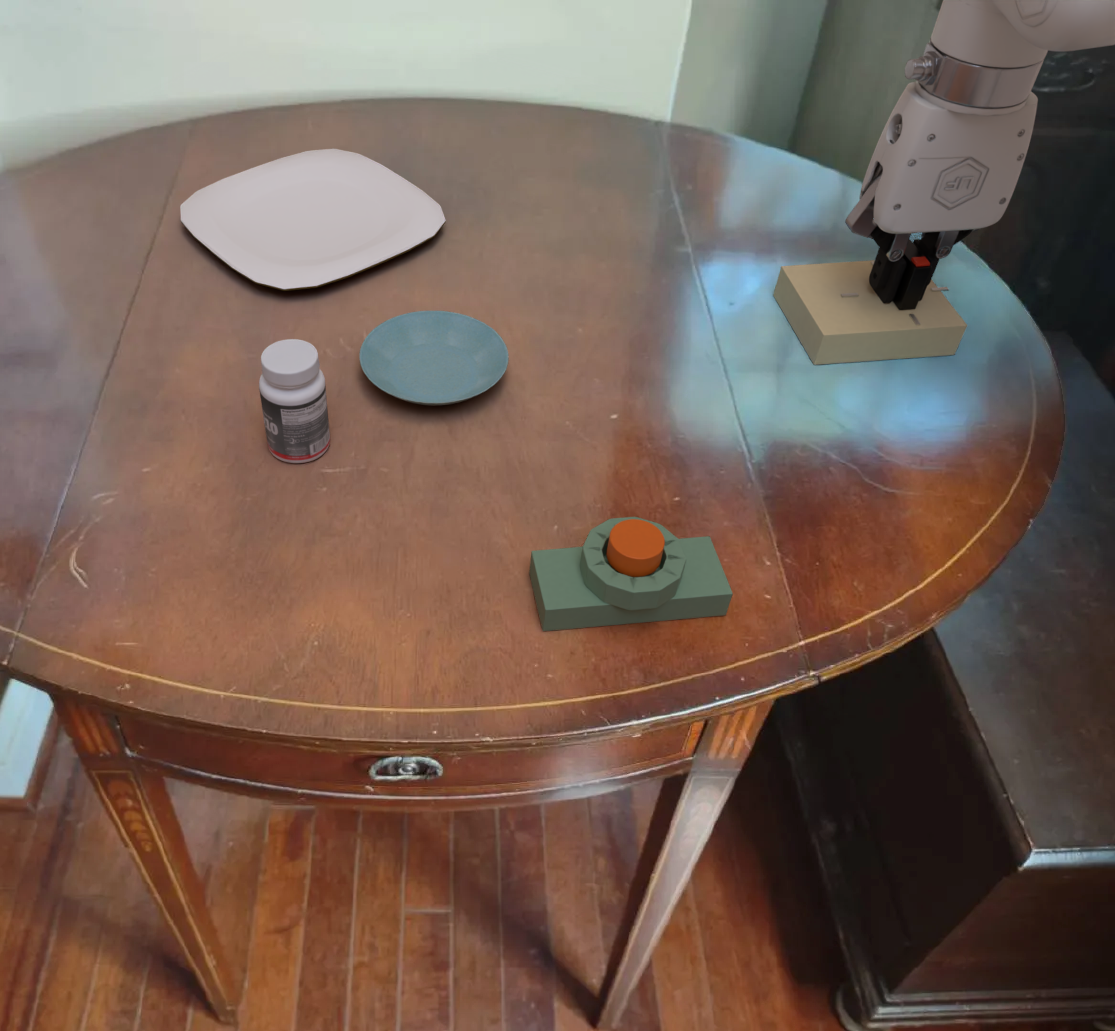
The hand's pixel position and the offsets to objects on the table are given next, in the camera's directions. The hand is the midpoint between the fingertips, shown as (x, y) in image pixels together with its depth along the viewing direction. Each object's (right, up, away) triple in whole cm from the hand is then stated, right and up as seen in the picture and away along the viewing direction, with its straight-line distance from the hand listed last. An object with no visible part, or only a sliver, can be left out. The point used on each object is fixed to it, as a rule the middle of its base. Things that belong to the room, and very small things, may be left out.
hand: (894, 291), depth 87 cm
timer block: (-26, -24, -18) cm, 40 cm away
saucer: (-38, -8, -2) cm, 39 cm away
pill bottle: (-49, -13, -8) cm, 51 cm away
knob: (0, 0, 0) cm, 0 cm away
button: (-26, -21, -21) cm, 40 cm away
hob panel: (-2, -2, +2) cm, 4 cm away
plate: (-50, +9, +13) cm, 52 cm away
